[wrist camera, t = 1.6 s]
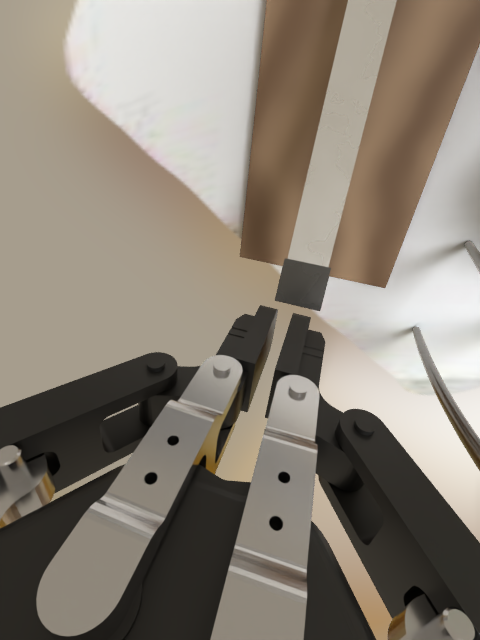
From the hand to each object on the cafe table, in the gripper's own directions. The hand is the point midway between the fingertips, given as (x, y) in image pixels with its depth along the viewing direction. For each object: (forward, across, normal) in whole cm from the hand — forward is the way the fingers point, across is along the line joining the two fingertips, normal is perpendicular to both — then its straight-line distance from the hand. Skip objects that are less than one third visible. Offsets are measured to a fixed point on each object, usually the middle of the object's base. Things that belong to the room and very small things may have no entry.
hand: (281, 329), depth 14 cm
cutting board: (+25, 0, -6) cm, 26 cm away
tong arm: (+17, 0, -5) cm, 18 cm away
